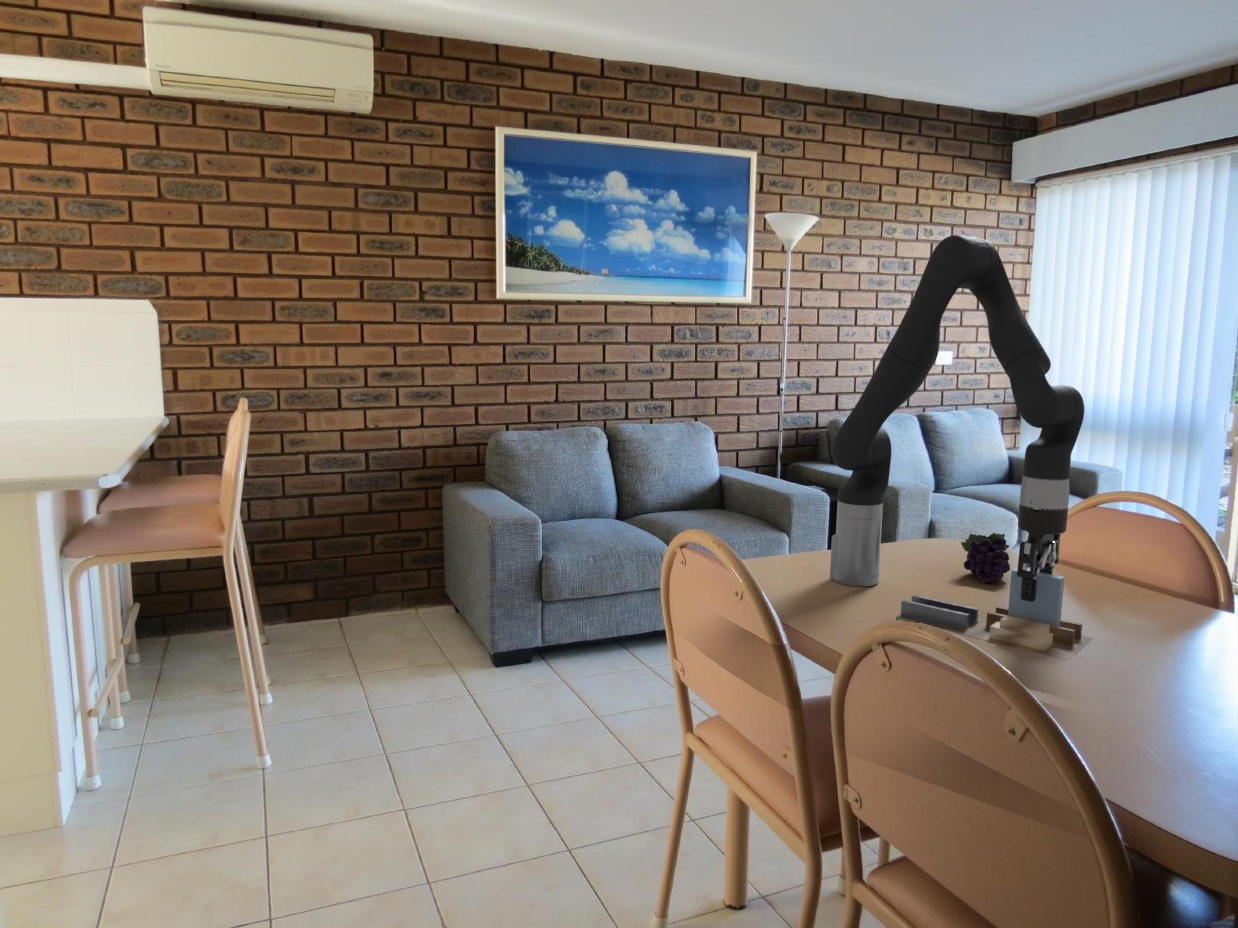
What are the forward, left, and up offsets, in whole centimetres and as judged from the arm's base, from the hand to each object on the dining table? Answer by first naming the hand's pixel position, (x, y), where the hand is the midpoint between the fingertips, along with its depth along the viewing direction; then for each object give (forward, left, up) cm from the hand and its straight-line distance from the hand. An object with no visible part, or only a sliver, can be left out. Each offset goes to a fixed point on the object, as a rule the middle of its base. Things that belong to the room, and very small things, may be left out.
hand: (1035, 595), depth 151 cm
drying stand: (-15, -4, -8) cm, 17 cm away
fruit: (-20, +34, -8) cm, 40 cm away
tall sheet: (0, 0, -7) cm, 7 cm away
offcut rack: (0, -3, -8) cm, 8 cm away
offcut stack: (0, -6, -7) cm, 9 cm away
